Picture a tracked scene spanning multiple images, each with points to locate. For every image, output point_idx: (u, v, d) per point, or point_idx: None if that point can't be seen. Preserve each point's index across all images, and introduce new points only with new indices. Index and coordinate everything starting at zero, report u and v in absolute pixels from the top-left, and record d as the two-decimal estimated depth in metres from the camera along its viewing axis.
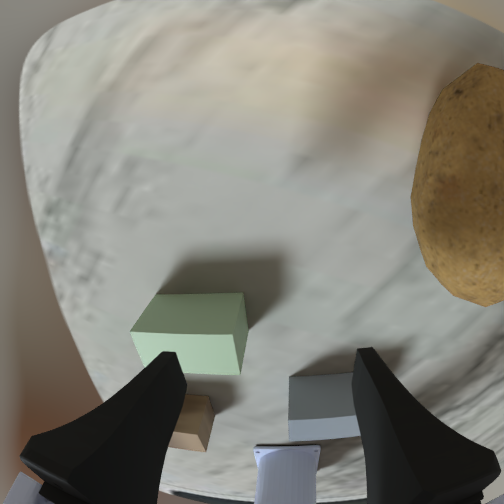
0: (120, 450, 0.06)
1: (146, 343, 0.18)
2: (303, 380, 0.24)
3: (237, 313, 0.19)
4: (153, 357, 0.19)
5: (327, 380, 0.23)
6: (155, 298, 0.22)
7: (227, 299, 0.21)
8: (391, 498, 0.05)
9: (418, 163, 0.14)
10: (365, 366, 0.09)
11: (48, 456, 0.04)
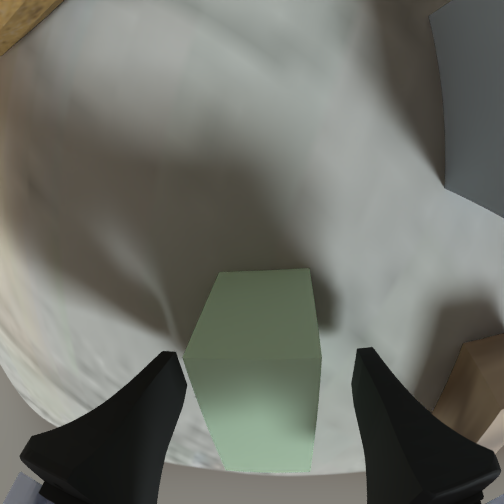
0: (120, 451, 0.06)
1: (245, 462, 0.09)
2: (452, 157, 0.08)
3: (204, 310, 0.09)
4: (277, 462, 0.09)
5: (453, 101, 0.07)
6: None
7: None
8: (391, 498, 0.05)
9: None
10: (365, 366, 0.09)
11: (48, 456, 0.04)
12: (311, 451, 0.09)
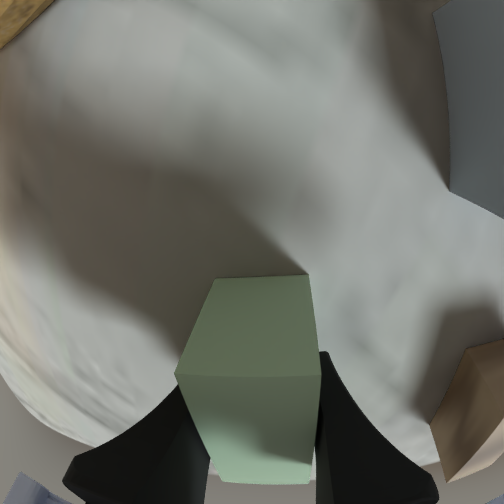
0: (176, 463, 0.06)
1: (242, 474, 0.09)
2: (457, 159, 0.08)
3: (198, 321, 0.09)
4: (275, 475, 0.09)
5: (458, 100, 0.07)
6: None
7: None
8: None
9: None
10: None
11: (102, 480, 0.04)
12: (310, 464, 0.08)
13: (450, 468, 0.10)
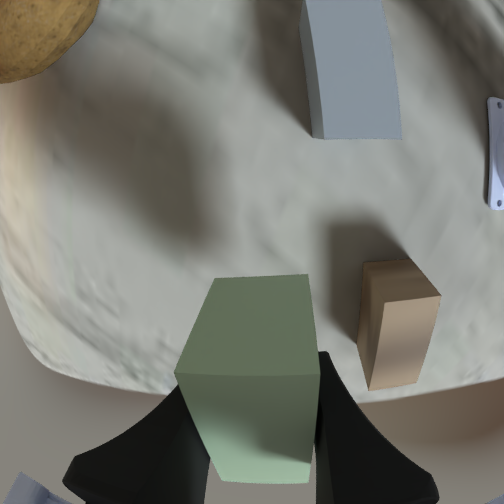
0: (176, 463, 0.06)
1: (241, 474, 0.09)
2: (311, 115, 0.15)
3: (197, 320, 0.09)
4: (274, 474, 0.09)
5: (307, 80, 0.14)
6: None
7: None
8: None
9: (20, 79, 0.12)
10: None
11: (102, 480, 0.04)
12: (309, 464, 0.08)
13: (368, 374, 0.17)
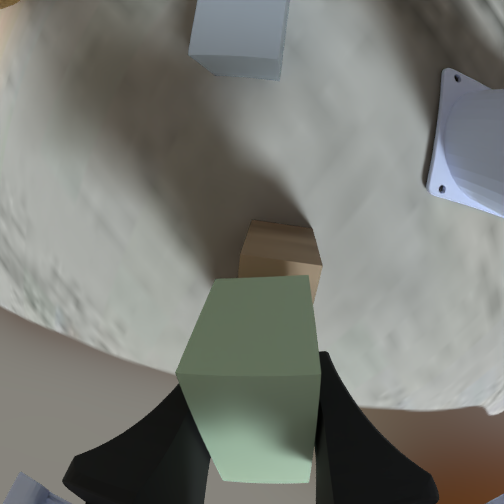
0: (176, 463, 0.06)
1: (242, 474, 0.09)
2: None
3: (198, 321, 0.09)
4: (275, 474, 0.09)
5: None
6: None
7: None
8: None
9: None
10: None
11: (102, 480, 0.04)
12: (310, 463, 0.08)
13: None
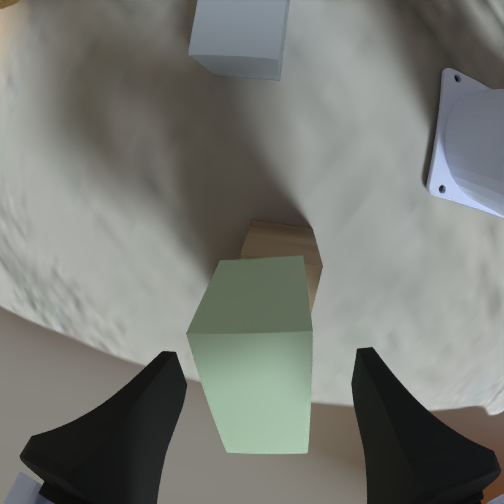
0: (120, 450, 0.06)
1: (245, 443, 0.10)
2: None
3: (206, 293, 0.10)
4: (275, 442, 0.10)
5: None
6: None
7: None
8: (391, 498, 0.05)
9: None
10: (365, 366, 0.09)
11: (48, 456, 0.04)
12: (307, 430, 0.09)
13: None
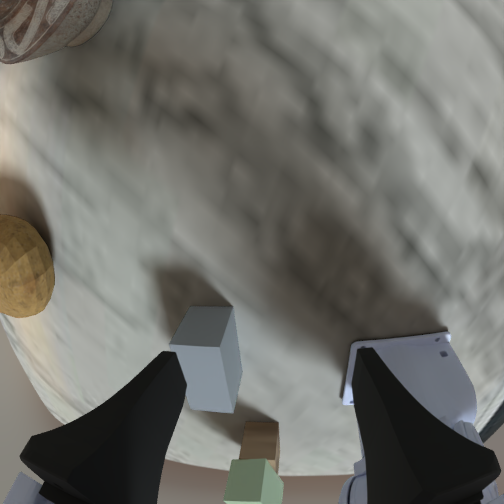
0: (120, 451, 0.06)
1: None
2: None
3: (227, 481, 0.21)
4: None
5: None
6: None
7: None
8: (391, 498, 0.05)
9: None
10: (365, 366, 0.09)
11: (48, 456, 0.04)
12: None
13: None
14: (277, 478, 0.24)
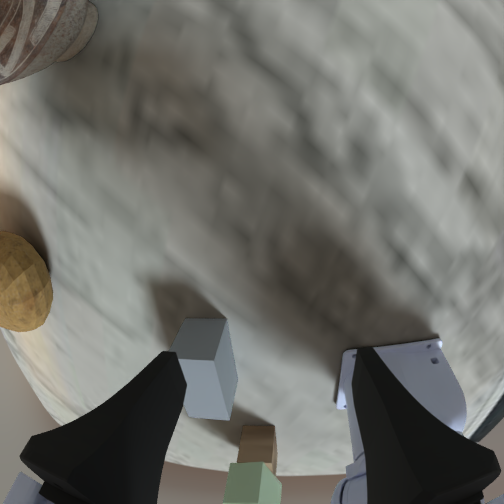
0: (120, 451, 0.06)
1: None
2: None
3: (226, 484, 0.22)
4: None
5: None
6: None
7: None
8: (391, 498, 0.05)
9: None
10: (365, 366, 0.09)
11: (48, 456, 0.04)
12: None
13: None
14: (275, 480, 0.25)
